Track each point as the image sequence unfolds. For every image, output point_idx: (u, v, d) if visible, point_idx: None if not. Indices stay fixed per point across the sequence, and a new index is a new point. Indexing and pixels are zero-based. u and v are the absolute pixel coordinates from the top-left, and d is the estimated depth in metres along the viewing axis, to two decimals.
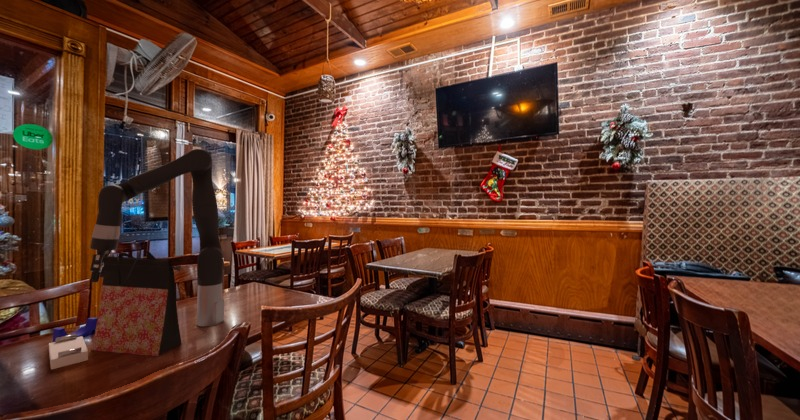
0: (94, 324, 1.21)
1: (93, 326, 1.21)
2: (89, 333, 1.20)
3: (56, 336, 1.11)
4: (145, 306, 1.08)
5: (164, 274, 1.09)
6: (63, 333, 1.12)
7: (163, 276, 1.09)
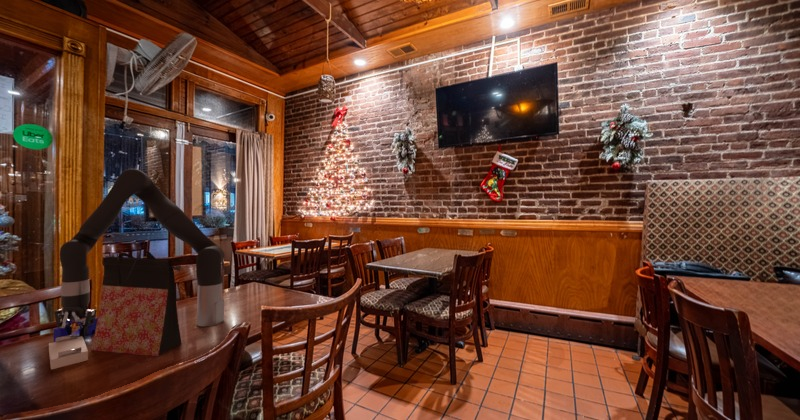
0: (94, 324, 1.21)
1: (93, 326, 1.21)
2: (89, 333, 1.20)
3: (57, 336, 1.11)
4: (145, 306, 1.08)
5: (164, 274, 1.09)
6: (64, 333, 1.12)
7: (163, 276, 1.09)
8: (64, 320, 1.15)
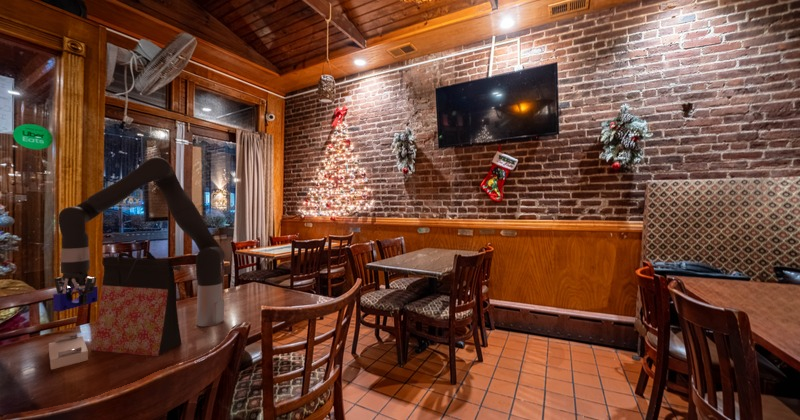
0: (94, 292, 1.21)
1: (93, 294, 1.21)
2: (89, 301, 1.19)
3: (57, 301, 1.11)
4: (145, 306, 1.08)
5: (164, 274, 1.09)
6: (64, 299, 1.12)
7: (163, 276, 1.09)
8: (64, 287, 1.15)
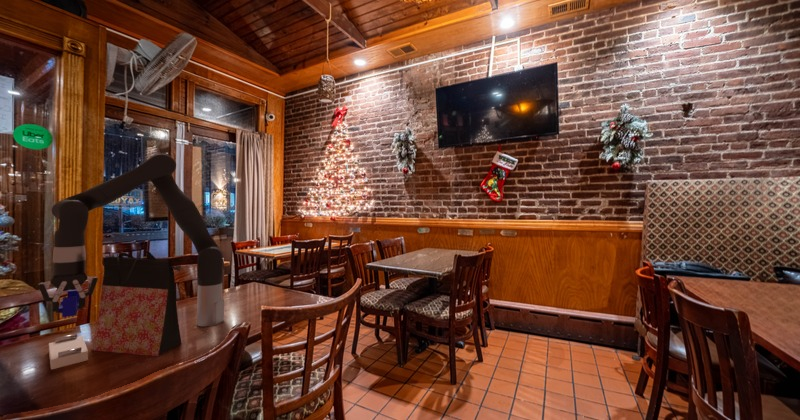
0: None
1: None
2: None
3: (70, 305, 0.99)
4: (145, 306, 1.08)
5: (164, 274, 1.09)
6: (76, 301, 1.01)
7: (163, 276, 1.09)
8: (59, 292, 1.01)
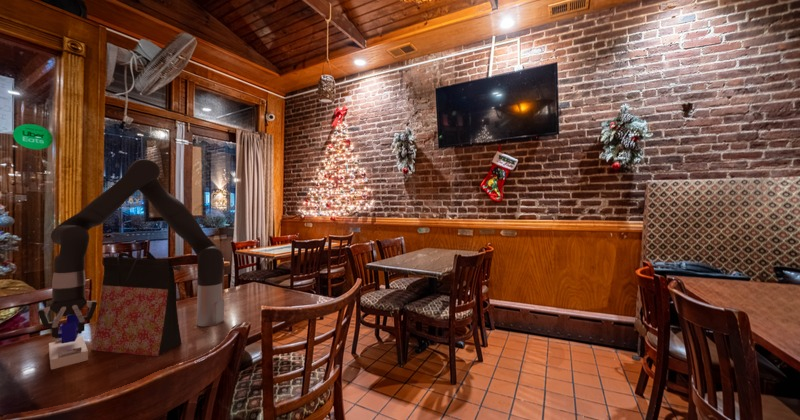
0: None
1: None
2: None
3: (69, 331, 0.99)
4: (145, 306, 1.08)
5: (164, 274, 1.09)
6: (75, 327, 1.01)
7: (163, 276, 1.09)
8: (58, 317, 1.01)
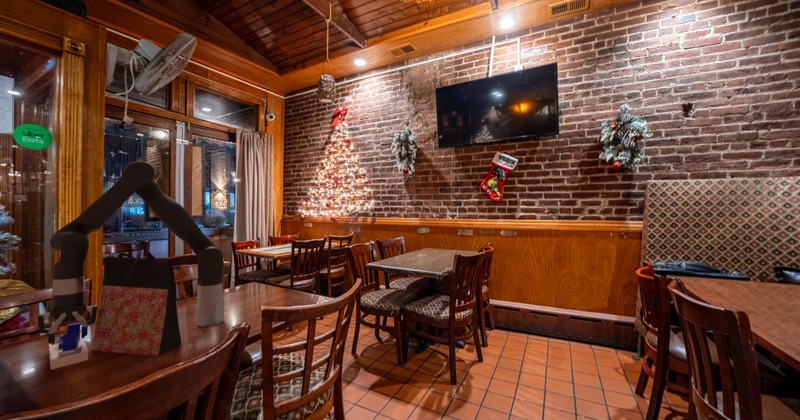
0: (79, 329, 1.08)
1: (79, 331, 1.08)
2: (79, 339, 1.07)
3: (70, 342, 1.00)
4: (145, 306, 1.08)
5: (164, 274, 1.09)
6: (76, 337, 1.01)
7: (163, 276, 1.09)
8: (57, 324, 1.00)
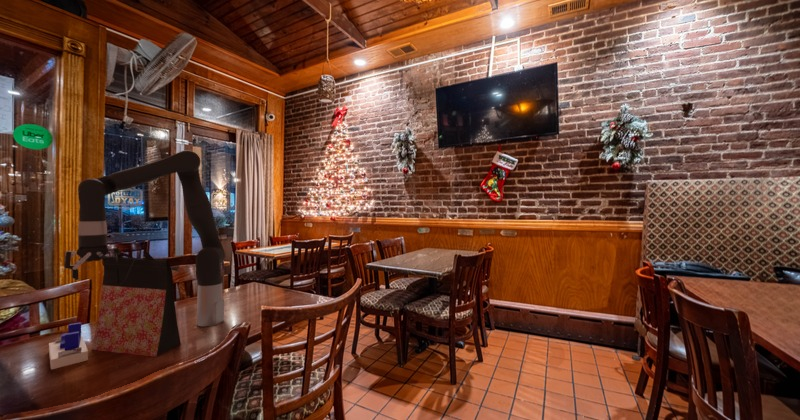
0: (80, 329, 1.09)
1: (80, 331, 1.08)
2: (80, 338, 1.08)
3: (72, 341, 1.00)
4: (143, 306, 1.08)
5: (162, 275, 1.08)
6: (78, 337, 1.02)
7: (161, 276, 1.08)
8: (81, 261, 1.10)
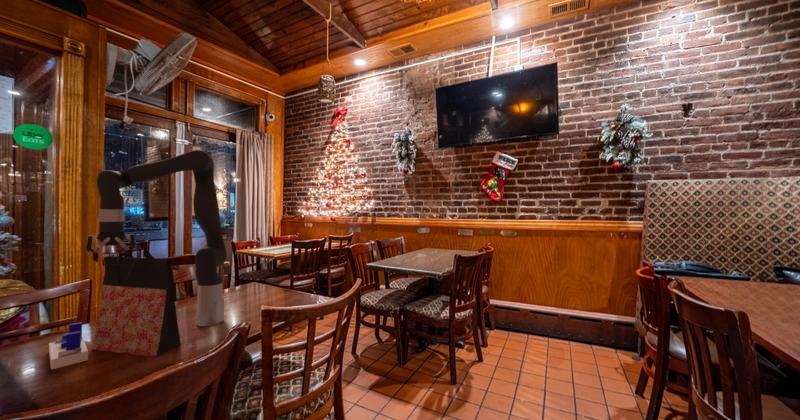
0: (81, 329, 1.09)
1: (81, 331, 1.09)
2: (81, 338, 1.08)
3: (73, 341, 1.00)
4: (144, 306, 1.08)
5: (163, 275, 1.08)
6: (80, 337, 1.02)
7: (162, 276, 1.08)
8: (101, 245, 1.21)
